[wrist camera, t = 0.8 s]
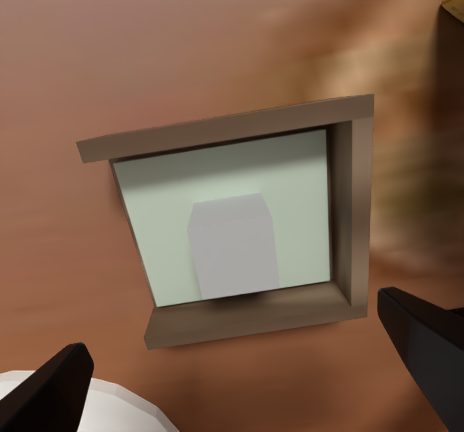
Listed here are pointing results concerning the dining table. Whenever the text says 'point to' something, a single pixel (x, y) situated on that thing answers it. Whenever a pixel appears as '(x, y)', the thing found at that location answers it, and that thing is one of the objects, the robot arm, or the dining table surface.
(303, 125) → the walnut box
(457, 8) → the candy box
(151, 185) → the cover plate
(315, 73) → the dining table surface
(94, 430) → the dish
